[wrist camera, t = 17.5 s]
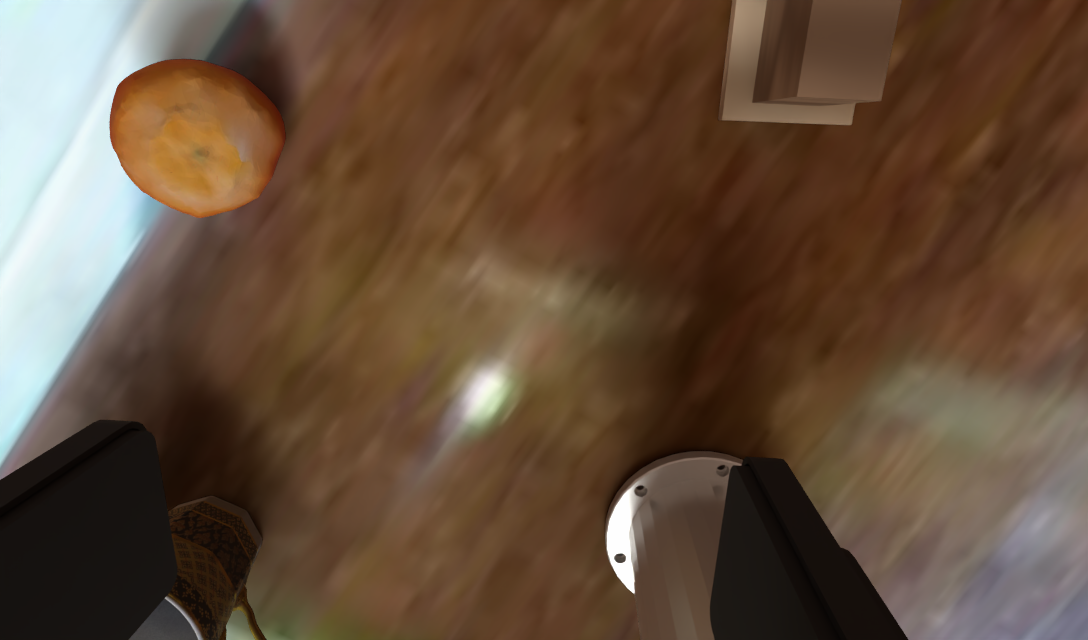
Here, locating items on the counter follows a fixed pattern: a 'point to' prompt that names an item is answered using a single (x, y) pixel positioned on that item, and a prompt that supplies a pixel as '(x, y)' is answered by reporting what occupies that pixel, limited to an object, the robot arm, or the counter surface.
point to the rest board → (743, 74)
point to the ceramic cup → (206, 573)
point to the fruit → (196, 135)
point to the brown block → (825, 51)
